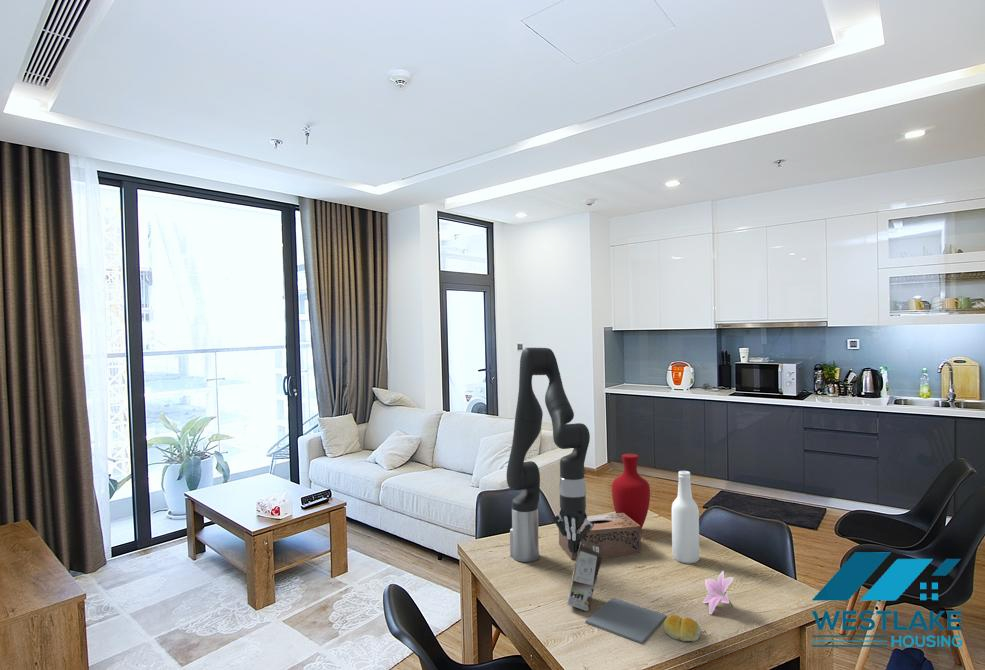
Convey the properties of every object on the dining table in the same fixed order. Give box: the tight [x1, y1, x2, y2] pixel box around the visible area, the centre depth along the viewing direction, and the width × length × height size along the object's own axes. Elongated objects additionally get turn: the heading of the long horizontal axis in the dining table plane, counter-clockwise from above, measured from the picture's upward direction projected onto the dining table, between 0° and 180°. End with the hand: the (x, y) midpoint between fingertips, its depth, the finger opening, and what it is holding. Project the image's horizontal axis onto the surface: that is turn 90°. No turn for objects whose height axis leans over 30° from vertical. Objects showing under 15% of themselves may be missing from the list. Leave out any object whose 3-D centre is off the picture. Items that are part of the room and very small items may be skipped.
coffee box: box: [566, 540, 603, 612], centre depth 154 cm, size 9×6×16 cm
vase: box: [611, 453, 651, 530], centre depth 210 cm, size 15×15×30 cm
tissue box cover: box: [558, 512, 642, 561], centre depth 193 cm, size 26×14×10 cm, turn 101°
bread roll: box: [663, 614, 701, 642], centre depth 138 cm, size 8×9×4 cm
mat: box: [585, 597, 667, 645], centre depth 145 cm, size 16×16×1 cm
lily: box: [702, 570, 735, 615], centre depth 150 cm, size 12×12×10 cm
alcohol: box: [671, 470, 700, 565], centre depth 183 cm, size 9×9×30 cm
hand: (573, 551), depth 155 cm, fingers closed
